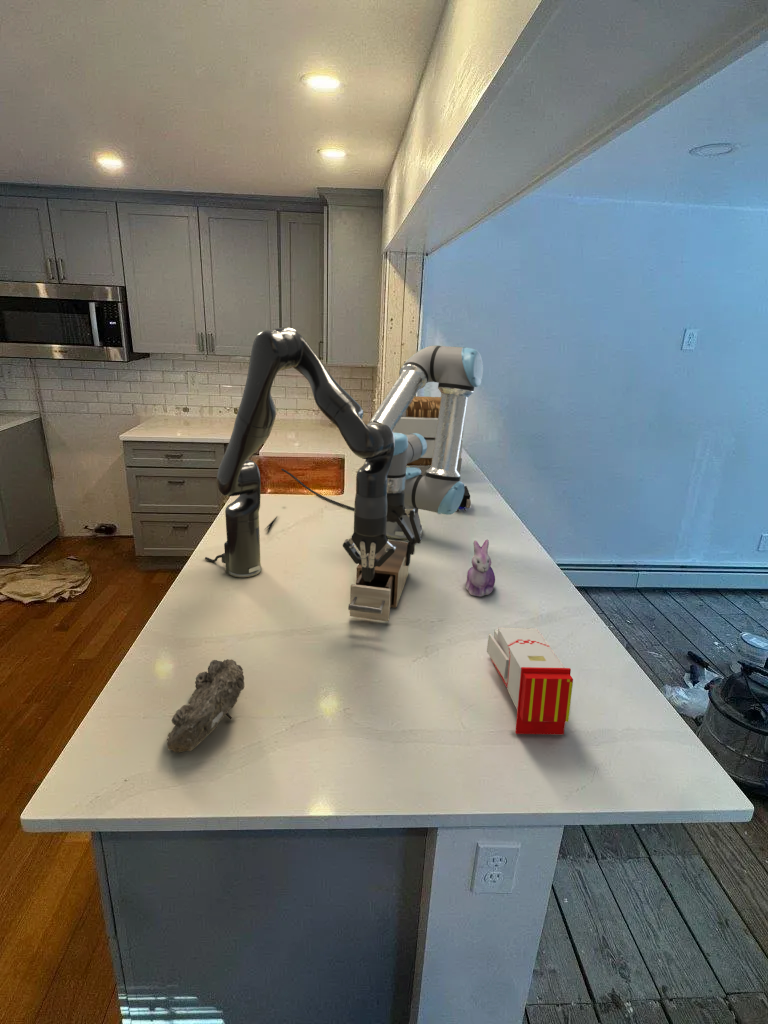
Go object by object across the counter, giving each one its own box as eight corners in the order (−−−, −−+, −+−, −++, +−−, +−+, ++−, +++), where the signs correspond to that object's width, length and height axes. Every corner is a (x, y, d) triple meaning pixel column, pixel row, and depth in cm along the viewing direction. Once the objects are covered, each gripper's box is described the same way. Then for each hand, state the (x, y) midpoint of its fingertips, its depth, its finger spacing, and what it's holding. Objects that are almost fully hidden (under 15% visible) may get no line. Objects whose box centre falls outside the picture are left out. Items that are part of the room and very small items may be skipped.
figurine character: (470, 516, 223) (465, 500, 237) (473, 499, 220) (467, 484, 233) (453, 516, 223) (449, 500, 236) (455, 498, 220) (451, 483, 233)
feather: (285, 510, 221) (287, 506, 220) (266, 535, 194) (269, 530, 194) (281, 507, 221) (283, 503, 220) (262, 532, 194) (265, 527, 193)
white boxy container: (382, 463, 289) (386, 382, 275) (445, 464, 293) (451, 384, 279) (390, 482, 257) (394, 392, 243) (460, 483, 261) (468, 394, 247)
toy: (534, 612, 132) (582, 675, 102) (529, 665, 135) (574, 741, 105) (482, 611, 131) (516, 674, 102) (478, 664, 134) (510, 740, 105)
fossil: (192, 660, 117) (244, 628, 112) (224, 691, 120) (276, 661, 115) (142, 746, 98) (202, 712, 93) (182, 779, 101) (242, 748, 96)
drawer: (384, 633, 137) (385, 601, 134) (344, 627, 138) (344, 596, 135) (401, 586, 160) (402, 558, 157) (366, 582, 162) (367, 554, 159)
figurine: (477, 600, 156) (482, 550, 151) (456, 584, 164) (460, 537, 159) (504, 594, 160) (510, 545, 155) (482, 579, 168) (487, 532, 163)
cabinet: (396, 608, 150) (398, 572, 147) (355, 602, 152) (356, 567, 149) (408, 574, 170) (410, 542, 166) (371, 570, 171) (373, 538, 168)
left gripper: (338, 514, 127) (337, 583, 133) (396, 520, 125) (392, 590, 131) (346, 503, 134) (345, 570, 140) (401, 509, 132) (397, 576, 138)
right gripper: (346, 489, 155) (345, 562, 163) (432, 497, 151) (426, 571, 159) (353, 481, 162) (351, 551, 170) (435, 489, 158) (429, 561, 166)
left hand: (368, 579), depth 135 cm, fingers closed
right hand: (387, 561), depth 164 cm, fingers closed on cabinet, 11 cm apart
